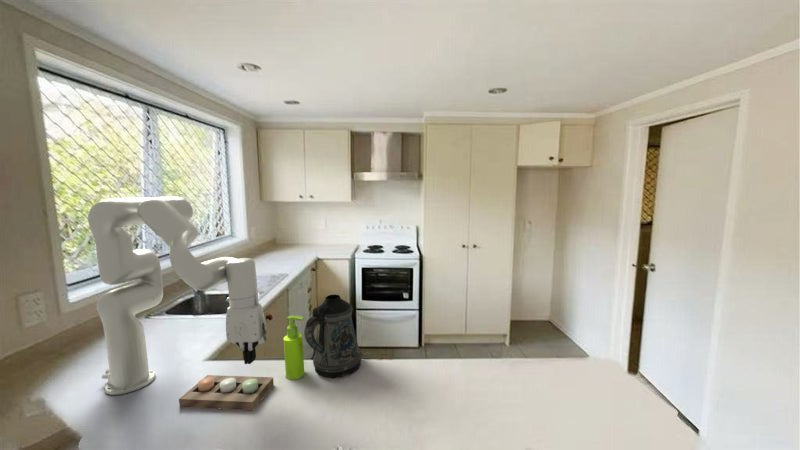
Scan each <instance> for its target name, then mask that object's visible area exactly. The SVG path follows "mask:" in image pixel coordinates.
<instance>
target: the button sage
mask: <svg viewBox="0 0 800 450" xmlns="http://www.w3.org/2000/svg"><path fill="white" fill-rule="evenodd" d="M242 387H243V394H255V393H256V392H257V390H258V380H257V379H249V380H246V381H245V382H243V384H242Z"/></svg>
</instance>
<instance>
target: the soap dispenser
mask: <svg viewBox="0 0 800 450" xmlns="http://www.w3.org/2000/svg"><path fill="white" fill-rule="evenodd" d="M304 319H305V317H304V316H301V315H288V316H287V317H286V320H287V321H288V322H289V323H288V324H289V325H287V327H286V333H287V334H286V335H285V336H284V337H283V351H284V353H283V354H284V365H285V366H284V367H285V369H284V371H285V378H286V379H287V378H288V380H297V379H300V378H302V377H303V376H304V375H305V359H304V342H303V334H302V333H300V332H299V326H298V325H297V324H296V322H295V321H300V322H301V321H302V320H304Z"/></svg>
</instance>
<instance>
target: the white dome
mask: <svg viewBox="0 0 800 450" xmlns="http://www.w3.org/2000/svg"><path fill="white" fill-rule="evenodd" d="M235 389H236V379H235V378H228V379H225V380H223V381H222V382H221V383H220V391H221V393H232V392H233V391H234V390H235Z"/></svg>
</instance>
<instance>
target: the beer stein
mask: <svg viewBox="0 0 800 450" xmlns="http://www.w3.org/2000/svg"><path fill="white" fill-rule="evenodd" d="M324 298H325V299H324V301H323V302H322V303H321V304H320V305H319V306H316V307H314V308H313V309H312V316H311V317H309V318H308V320H307V321H306V322H305V327H304V333H303V334H304V339H305V341H306V343H307V345H308V346H310V347H309V348H311V349H312V350H314V351H315V354H314V356H313V359H312V364H313V367H314V371H315V373H316V374H317V375H318V376H319V377H322V378H325V379H331V380H332V379H341V378H347V377H349V376H351V375H353V374H355V373H356V372H357V371H358V370H359V369H360V367H361V361H362V357H363V356H362V355H363V354H362V351H361V349H360V347H359V343H358V340H357V337H356V332H355V327H354V323H353V319H352V314H353V306H352V305H351V304H350V303H349V301H348V302H347V300H344V299H343V298H342V297H341V296H340V295H339V294H329V295H326V296H325V297H324ZM316 327H317V330H316V334H317V335H316V337H315V329H316Z"/></svg>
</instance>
